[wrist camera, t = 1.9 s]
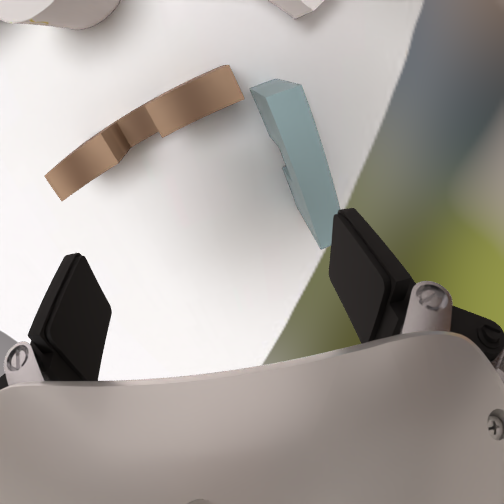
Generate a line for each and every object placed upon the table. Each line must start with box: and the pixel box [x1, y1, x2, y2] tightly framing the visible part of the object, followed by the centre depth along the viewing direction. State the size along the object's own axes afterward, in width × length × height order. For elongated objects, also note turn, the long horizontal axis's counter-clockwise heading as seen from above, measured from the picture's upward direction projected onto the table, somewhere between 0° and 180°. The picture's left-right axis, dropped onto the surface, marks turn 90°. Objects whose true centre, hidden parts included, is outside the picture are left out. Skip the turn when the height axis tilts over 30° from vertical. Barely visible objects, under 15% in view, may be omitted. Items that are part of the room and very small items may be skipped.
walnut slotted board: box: [45, 65, 244, 201], centre depth 23 cm, size 18×3×9 cm, turn 113°
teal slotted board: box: [250, 79, 340, 249], centre depth 28 cm, size 3×16×9 cm, turn 23°
